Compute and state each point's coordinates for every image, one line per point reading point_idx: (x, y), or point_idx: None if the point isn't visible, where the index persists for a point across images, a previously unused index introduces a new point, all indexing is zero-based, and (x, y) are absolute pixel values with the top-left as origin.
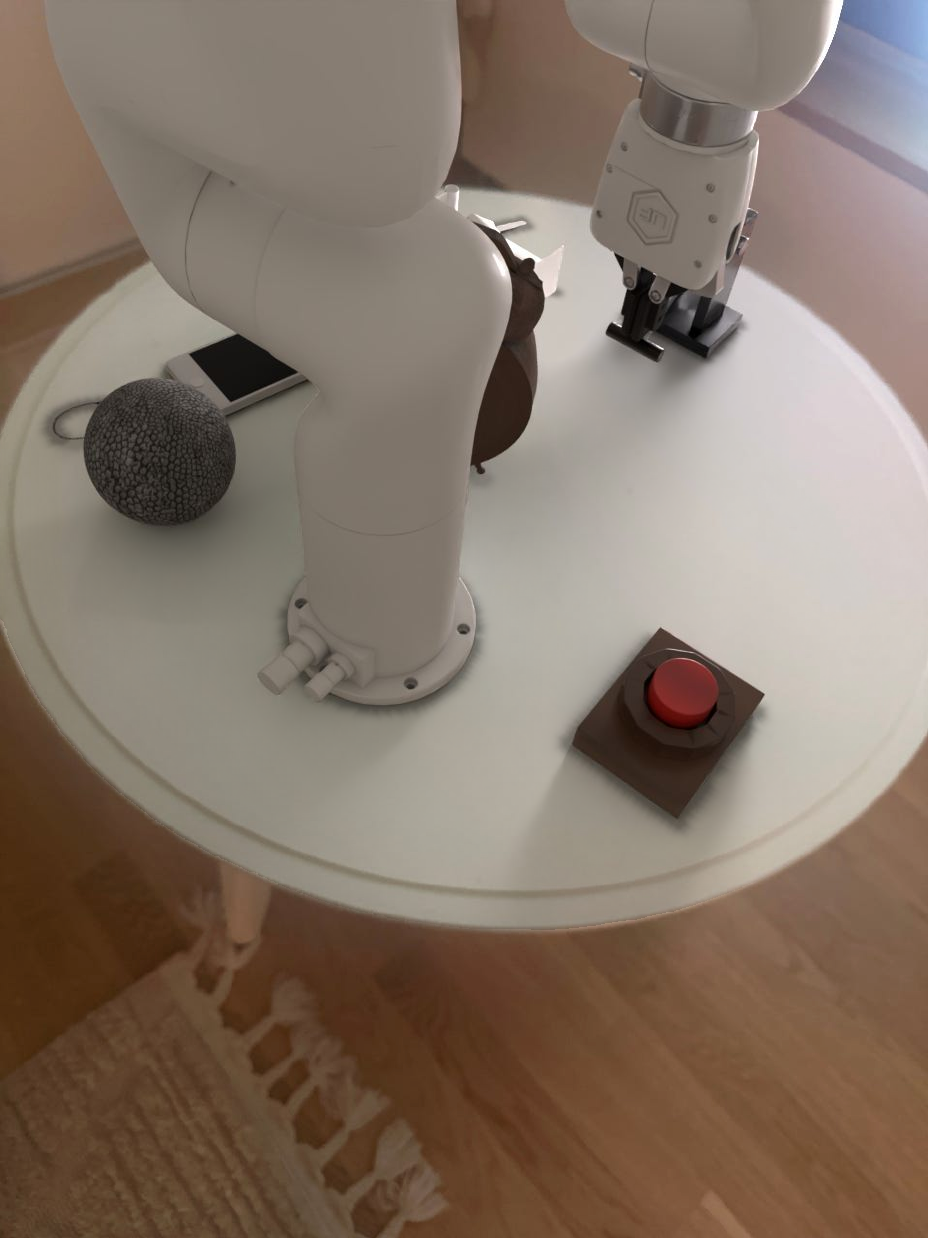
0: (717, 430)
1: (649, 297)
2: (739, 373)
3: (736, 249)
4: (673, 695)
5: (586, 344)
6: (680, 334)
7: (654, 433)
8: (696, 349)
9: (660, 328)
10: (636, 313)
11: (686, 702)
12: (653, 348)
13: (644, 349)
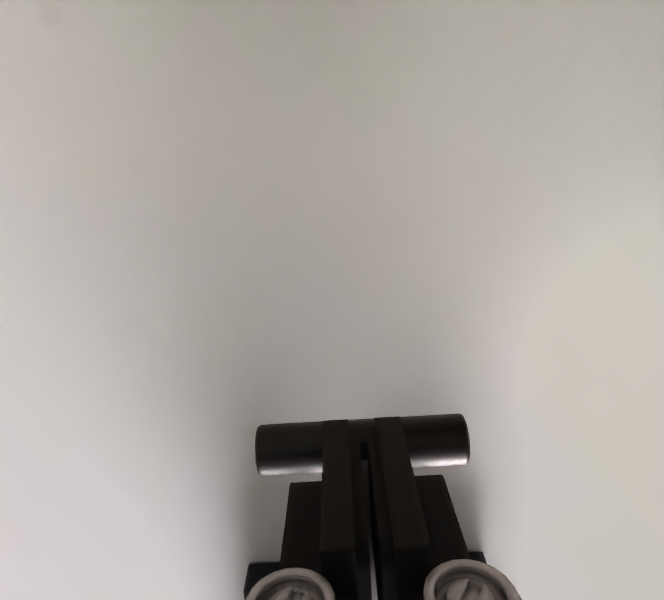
0: (60, 389)
1: (322, 578)
2: (160, 576)
3: None
4: None
5: (508, 401)
6: None
7: (161, 261)
8: (278, 570)
9: None
10: (362, 489)
11: None
12: (284, 451)
13: (310, 432)
